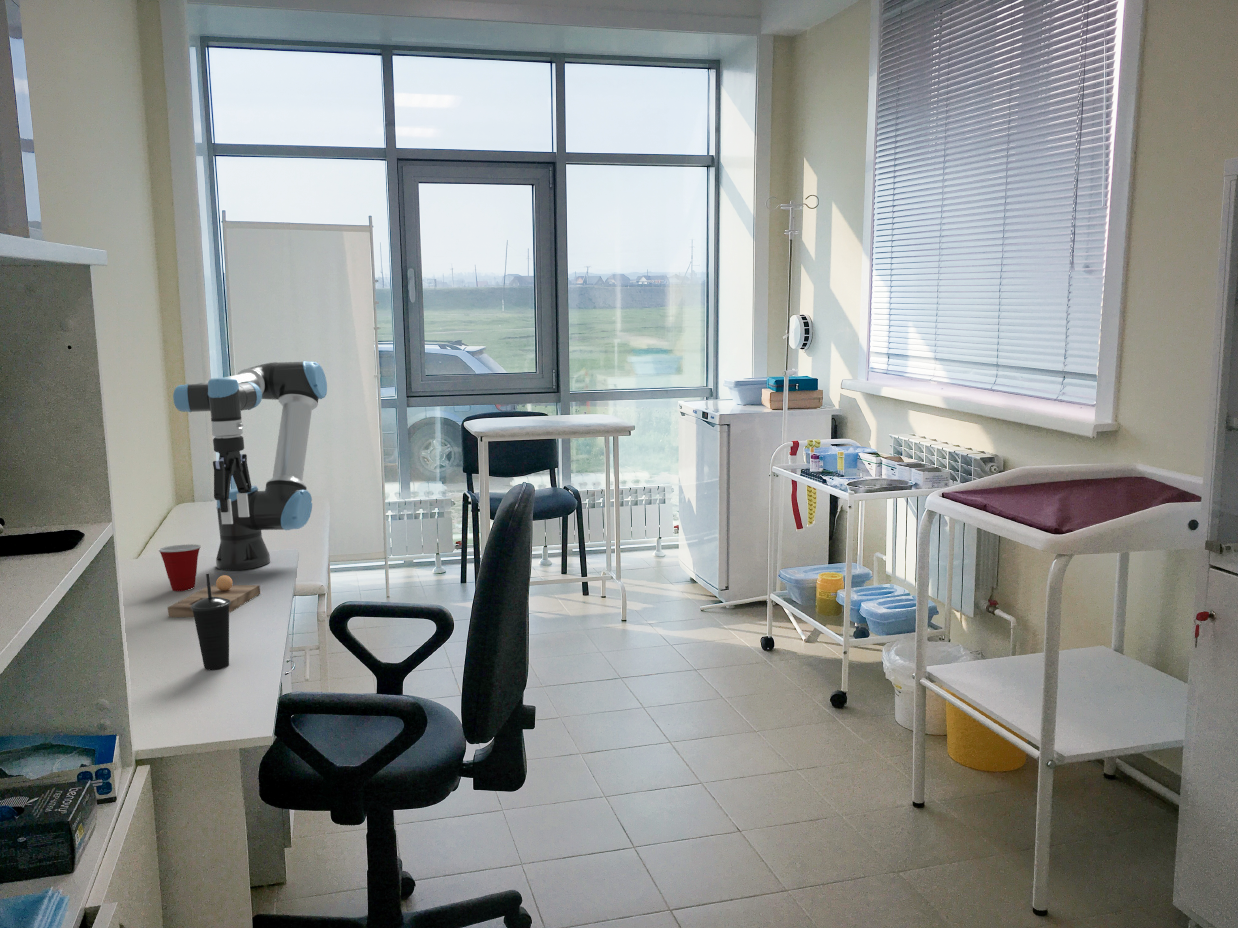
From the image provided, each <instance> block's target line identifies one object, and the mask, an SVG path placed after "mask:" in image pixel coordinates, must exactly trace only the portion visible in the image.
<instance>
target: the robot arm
mask: <svg viewBox="0 0 1238 928" xmlns="http://www.w3.org/2000/svg"><path fill="white" fill-rule="evenodd" d="M327 393H328V383H327V377H326V374H325V372H324V369H323V367H322V366H321V364H320V363H318V362H316V361H306V360H303V361H288V362H287V361H284V362H283V361H282V362H275V361H274V362H268V363H263V364H260V365H259V364H258V365H255V366H252V367H248V368H244V369H242V370H240V371H239V372H238V373H236V374H233V375H229V376H223V377H216V378H214V377H213V378H210V379H209V380H208V381H204V382H199V383H192V384H189V383H186V384H178V385H177V386H176V387H175V388H174V391H173V395H172V396H173V405H174V407H175V408H176V410H178V411H180V412H181V413H182V412H186V413H187V412H188V413H193V412H195V413H196V412H197V413H198V412H199V413H200V412H210V422H211V433H212V434H211V435H212V436H213V437H214V438H213V439H212V444H213V451H214V452H215V453H218V455H219V456H218V460H214V461H212V468H213V499H214V500H216V511H217V519H218V520H217V521H218V531H219V539H220V541H219V546H218V550H217V554H216V557H215V558H216V559H215V564H216V565H215V566H216V568H217V569H219V570H221V571H241V570H242V571H243V570H244V571H245V570H249V569H250V570H251V569H254V568H259V567H264V566H266V565H267V564H269V563H270V562H271V556H270V552H269V550H268V548H267V545H266V543H265V541H264V539H263V535H262V531H275V530H276V531H278V530H279V531H283V530H284V531H290V530H299V529H302V528H303V527H304V526H305V525H306V524H307V523H308V521H309V520H310V517H311V514H312V511H313V510H312V509H313V503H312V501H313V499H312V495H311V493H310V491H308V490H307V486H306V484H305V482H303V480H304V479H303V478H304V471H305V464H306V455H307V450H308V449H307V448H308V441H309V440H308V439H309V434H310V425H311V419H312V411H314V410H315V409H317V407H318V405H319V400H323V399H325V398H326V396H327ZM262 400H272V401H273V400H275V401H276V400H277V401H278V403H279V404H280V405H281V406H282V409H281V410H282V411H281V417H280V423H279V430H278V435H277V436H278V437H277V444H276V450H275V451H276V452H275V457H274V458H275V459H274V464H273V465H274V466H273V473H272V477H271V478H270V479H269V480H268V481H267V482H266V484H265V487H264V488H265V489H264V490H259V488H258V487H257V486H258V485H252V482H251V477H250V472H249V467H248V455H247V454H246V453H241V451H244V449H245V442H244V441H245V440H244V437H243V436H242V435H243V433H244V431H243V426H244V424H243V423H242V411H246V410H247V411H249V410H252V409H254V408H256V407H258V406H259V405H260V403H261V402H262ZM232 477H233V481H234V484H235V488H231V482H232Z"/></svg>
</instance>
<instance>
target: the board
mask: <svg viewBox="0 0 1238 928" xmlns="http://www.w3.org/2000/svg"><path fill="white" fill-rule="evenodd" d="M210 585H211V584H210ZM260 587H261V586H260V584H248V585H247V584H241V585H238V584H235V585H233V584H232V586H231V588H230V589H228V590H226V591H222V590H219V589H218V588H217V586H216V584H215V585H214V584H213V585H211V595H212V597H221V598H224V599H228V600H230V605H229V612H230V613H231V611H232V612H233V611H235V610H237V609H239V608H240V607H241V606H240V605H242V606H243V605H245V604H246V603H245V602H247V601H248V602H250V601H251V600H250V599H252V598H253V597H255V596H257V595H258V594H260V595H261V588H260ZM258 596H259V595H258ZM258 596H257V597H258ZM204 598H208V591H207V586H205V587H204V588H201V589H200V590H198V591H196V592H195V593H193V594H191V595H189V596H187V597H185V598H183V599H181V600H179V601H178V602H175V603H173V604H172V605H169V606H168V607H167V614H168V615H167V616H168V618H194V615H193V610H191V605H192V604H194V603H196V602H197V601H199V600H201V599H204ZM255 598H256V597H255ZM253 599H254V598H253ZM253 599H252V600H253ZM249 600H250V601H249ZM248 602H247V603H248ZM244 603H245V604H244ZM239 606H240V607H239ZM236 608H237V609H236ZM234 609H235V610H234Z"/></svg>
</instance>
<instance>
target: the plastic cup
mask: <svg viewBox="0 0 1238 928" xmlns="http://www.w3.org/2000/svg"><path fill="white" fill-rule="evenodd" d="M201 547H202V545H201V544H194V543H193V544H189V543H188V544H176V545H175V544H174V545H168V546H167V545H166V546H162V547H158V548H157V549H158V552H159V554H160V556H161V560H162V561H163V563H164V568H165V571H166V575H167V578H168V581H169V583H170V587H171V589H172V591H173V592H186V591H185V590H187V591H189V590H188V589H191V588H193V587H196V579H197V577H196V576H197V572H198V571H197V570H198V558H199V553H200V549H201ZM193 589H194V588H193ZM191 590H192V589H191Z"/></svg>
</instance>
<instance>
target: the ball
mask: <svg viewBox="0 0 1238 928" xmlns="http://www.w3.org/2000/svg"><path fill="white" fill-rule="evenodd" d="M215 585H216V586H217V588H218V589H219V590H222V591H226V590H228V589H230V588H231V586H232V585H233V579H232V578H231V577H230V576H229V575H226V574H225V575H224V574H223V575H221V576H219V577H218V578H217V579H216V581H215Z"/></svg>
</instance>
